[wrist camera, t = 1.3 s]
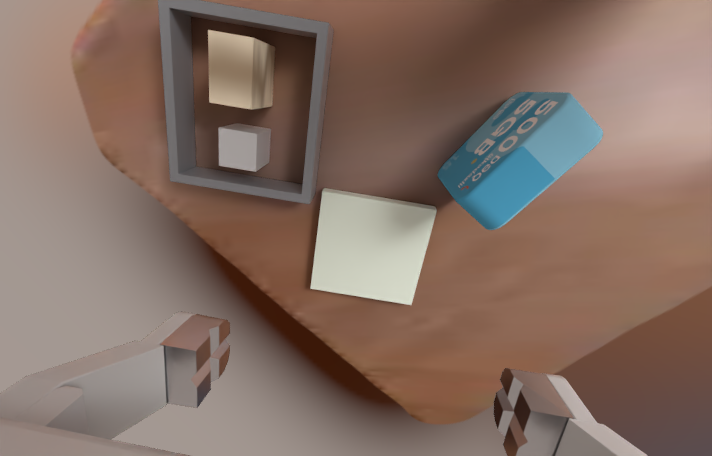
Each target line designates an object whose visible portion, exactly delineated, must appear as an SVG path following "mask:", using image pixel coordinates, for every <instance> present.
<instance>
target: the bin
mask: <svg viewBox="0 0 712 456" xmlns="http://www.w3.org/2000/svg"><path fill="white" fill-rule="evenodd" d="M158 7H159V22H160V37H161V52H162V67H163V82H164V97H165V112H166V127H167V142H168V156H169V171H170V181H172V182H178V183H184V184H190V185H196V186H202V187H208V188H215V189H221V190H227V191H233V192H239V193H245V194H251V195H257V196H263V197H269V198H275V199H281V200H287V201H293V202H299V203H305V204H310V202H311V201H312V199H313V197H314V195H315V192H316V183H317V174H318V165H319V157H320V148H321V139H322V130H323V121H324V112H325V104H326V95H327V86H328V77H329V68H330V59H331V51H332V42H333V33H334V30H333V28H332V27H331V25H330V24H329V23H327V22H321V21H316V20H310V19H304V18H298V17H293V16H287V15H281V14H275V13H270V12H264V11H258V10H252V9H247V8H241V7H235V6H229V5H224V4H218V3H212V2H206V1H201V0H158ZM191 17H197V18H203V19H208V20H214V21H220V22H226V23H232V24H237V25H243V26H249V27H255V28H260V29H266V30H272V31H278V32H284V33H289V34H295V35H301V36H307V37H312V38H317V40H316V50H315V61H314V71H313V81H312V92H311V102H310V113H309V123H308V133H307V144H306V154H305V164H304V175H303V184H298V183H292V182H286V181H280V180H274V179H268V178H262V177H256V176H250V175H244V174H238V173H232V172H226V171H220V170H214V169H208V168H202V167H196V146H195V117H194V88H193V59H192V30H191Z"/></svg>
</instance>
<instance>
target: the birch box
mask: <svg viewBox="0 0 712 456" xmlns="http://www.w3.org/2000/svg"><path fill="white" fill-rule="evenodd" d="M208 59H209V103H215V104H221V105H227V106H233V107H239V108H245V109H250V110H255V109H261V108H265V107H271V106H272V102H273V84H274V65H275V47H274V46H271V45H269V44H267V43H264V42H262V41H260V40H258V39H255V38H252V37H247V36H241V35H235V34H229V33H224V32H218V31H212V30H208Z"/></svg>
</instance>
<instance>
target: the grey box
mask: <svg viewBox="0 0 712 456" xmlns="http://www.w3.org/2000/svg"><path fill="white" fill-rule="evenodd" d="M270 140H271V129H269V128H263V127H257V126H251V125H246V124H240V123H235V124H231V125H227V126H223V127H219V166H224V167H230V168H236V169H242V170H248V171H254V172H256V171H258V170H259V169H260V168H262V167H263V166H265V165H266V164H268V163H269V158H270Z"/></svg>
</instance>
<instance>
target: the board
mask: <svg viewBox="0 0 712 456" xmlns="http://www.w3.org/2000/svg"><path fill="white" fill-rule="evenodd" d="M436 212H437V210H436V208H435V206H430V205H424V204H418V203H412V202H406V201H400V200H394V199H388V198H382V197H376V196H370V195H364V194H358V193H352V192H346V191H340V190H334V189H328V188H324V189H323V191H322V198H321V206H320V214H319V223H318V231H317V239H316V247H315V255H314V264H313V272H312V280H311V288H310V289H316V290H322V291H328V292H334V293H340V294H346V295H353V296H359V297H365V298H371V299H377V300H383V301H389V302H396V303H402V304H408V305H411V304H412V300H413V297H414V293H415V289H416V286H417V282H418V278H419V275H420V271H421V267H422V264H423V260H424V256H425V252H426V249H427V245H428V241H429V238H430V234H431V230H432V227H433V223H434V219H435V216H436Z"/></svg>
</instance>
